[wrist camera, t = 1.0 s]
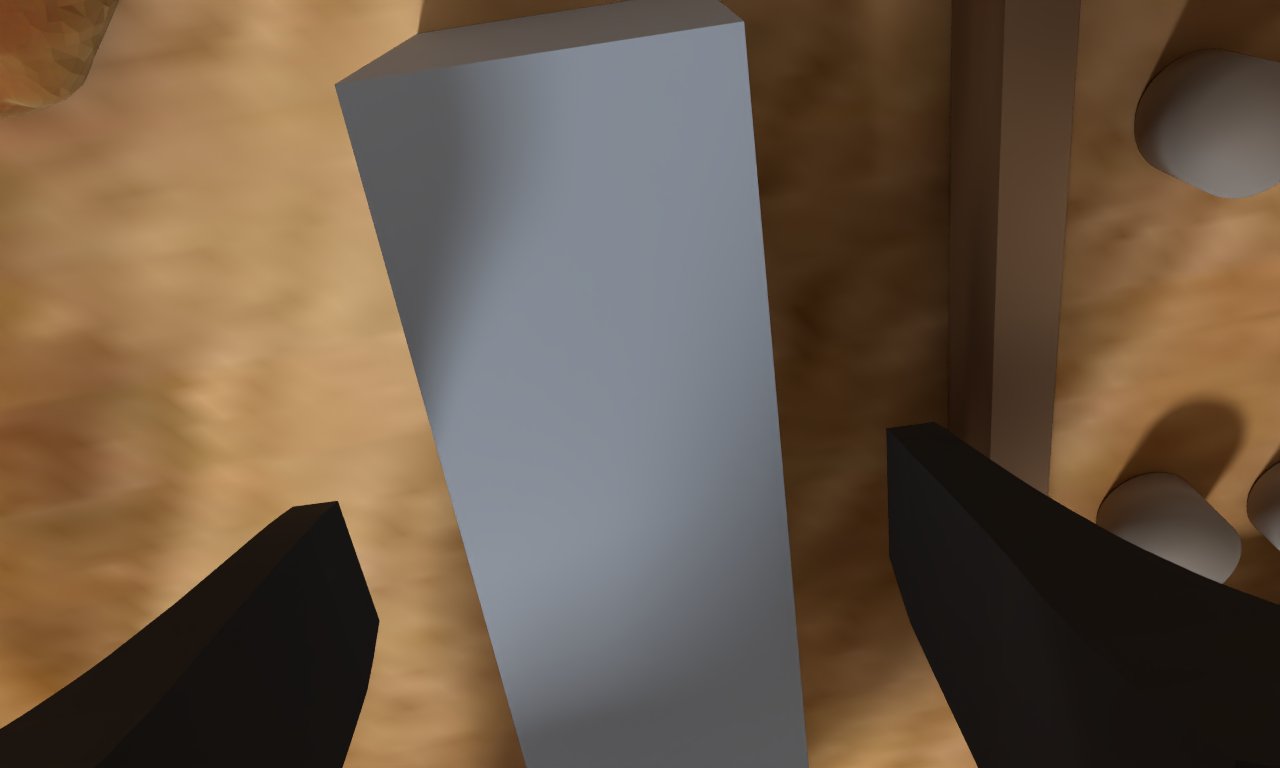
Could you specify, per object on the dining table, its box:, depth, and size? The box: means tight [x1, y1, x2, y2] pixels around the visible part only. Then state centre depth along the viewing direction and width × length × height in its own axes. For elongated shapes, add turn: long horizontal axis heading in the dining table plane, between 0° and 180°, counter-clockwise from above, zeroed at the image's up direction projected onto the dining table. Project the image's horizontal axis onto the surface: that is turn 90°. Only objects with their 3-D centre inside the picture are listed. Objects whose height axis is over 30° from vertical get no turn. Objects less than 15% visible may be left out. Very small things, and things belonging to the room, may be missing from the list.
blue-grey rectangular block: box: [335, 0, 809, 768], centre depth 15 cm, size 12×4×5 cm, turn 8°
